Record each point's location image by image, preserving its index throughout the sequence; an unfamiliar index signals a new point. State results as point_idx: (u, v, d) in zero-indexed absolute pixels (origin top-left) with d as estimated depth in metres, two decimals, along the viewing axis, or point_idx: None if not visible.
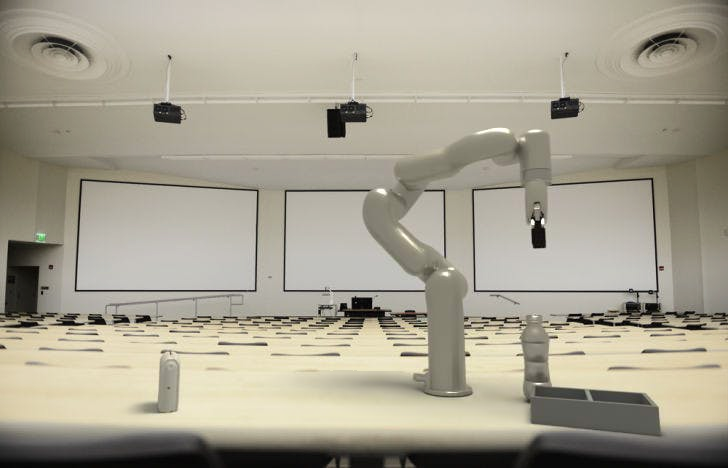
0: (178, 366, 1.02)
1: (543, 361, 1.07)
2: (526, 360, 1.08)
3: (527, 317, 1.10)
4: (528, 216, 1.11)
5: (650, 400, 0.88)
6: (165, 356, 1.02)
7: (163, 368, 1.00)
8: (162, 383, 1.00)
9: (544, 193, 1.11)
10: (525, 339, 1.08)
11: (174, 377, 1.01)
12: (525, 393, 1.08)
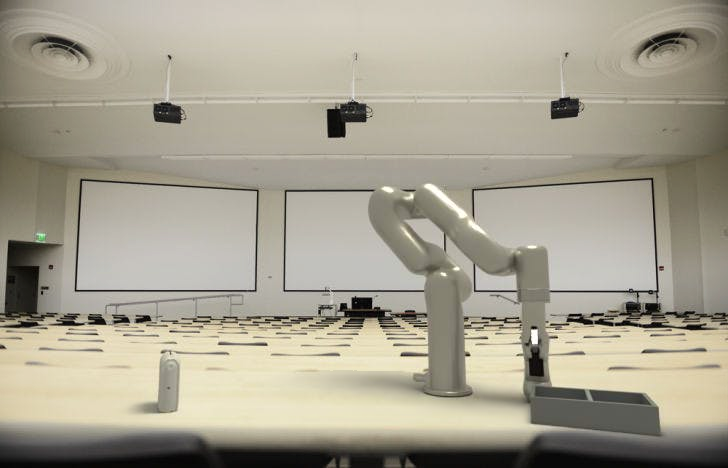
0: (178, 366, 1.02)
1: (543, 361, 1.07)
2: (526, 360, 1.08)
3: None
4: (525, 341, 1.06)
5: (650, 400, 0.88)
6: (165, 356, 1.02)
7: (163, 368, 1.00)
8: (162, 383, 1.00)
9: (542, 317, 1.06)
10: None
11: (174, 377, 1.01)
12: (525, 393, 1.08)
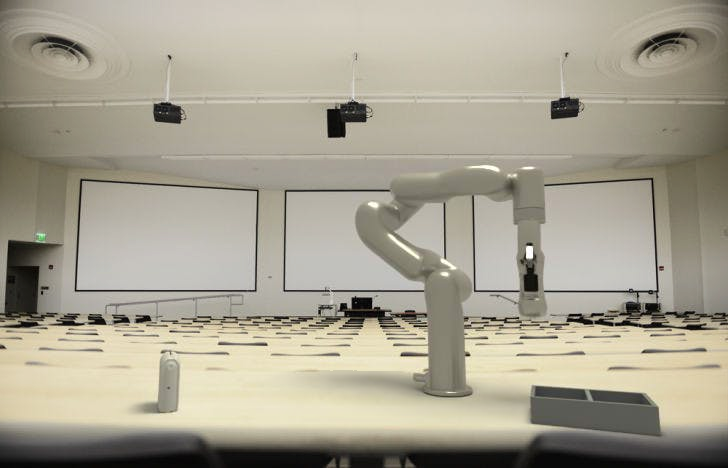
0: (178, 366, 1.02)
1: (538, 278, 1.09)
2: (521, 278, 1.11)
3: None
4: (520, 257, 1.08)
5: (650, 400, 0.88)
6: (165, 356, 1.02)
7: (163, 368, 1.00)
8: (162, 383, 1.00)
9: (537, 234, 1.08)
10: None
11: (174, 377, 1.01)
12: (520, 309, 1.10)
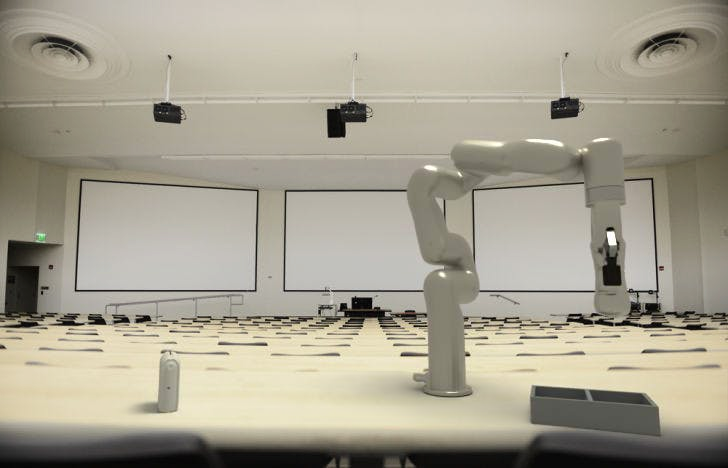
0: (178, 366, 1.02)
1: None
2: (598, 269, 0.93)
3: None
4: (599, 244, 0.91)
5: (650, 400, 0.88)
6: (165, 356, 1.02)
7: (163, 368, 1.00)
8: (162, 383, 1.00)
9: (619, 216, 0.90)
10: None
11: (174, 377, 1.01)
12: (598, 307, 0.92)
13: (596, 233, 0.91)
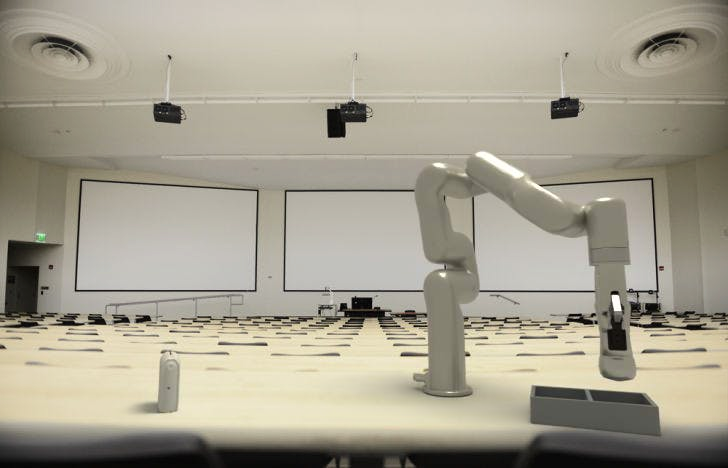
0: (178, 366, 1.02)
1: None
2: (603, 332, 0.92)
3: None
4: (604, 308, 0.89)
5: (650, 400, 0.88)
6: (165, 356, 1.02)
7: (163, 368, 1.00)
8: (162, 383, 1.00)
9: (624, 280, 0.89)
10: None
11: (174, 377, 1.01)
12: (603, 371, 0.91)
13: (600, 296, 0.90)
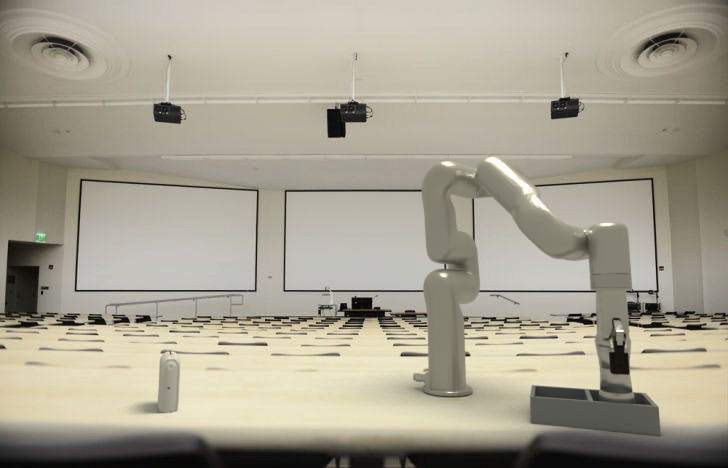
0: (178, 366, 1.02)
1: None
2: (603, 367, 0.92)
3: None
4: (605, 335, 0.89)
5: (650, 400, 0.88)
6: (165, 356, 1.02)
7: (163, 368, 1.00)
8: (162, 383, 1.00)
9: (625, 307, 0.88)
10: (602, 343, 0.92)
11: (174, 377, 1.01)
12: None
13: (602, 323, 0.89)
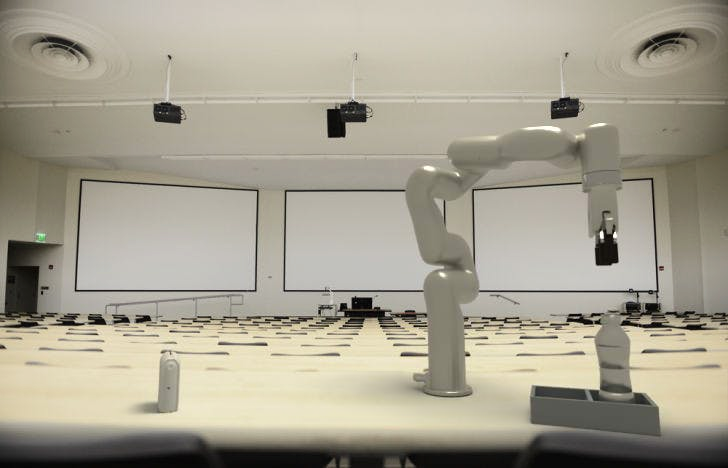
0: (178, 366, 1.02)
1: (624, 368, 0.91)
2: (603, 367, 0.93)
3: (603, 317, 0.94)
4: (595, 228, 0.92)
5: (650, 400, 0.88)
6: (165, 356, 1.02)
7: (163, 368, 1.00)
8: (162, 383, 1.00)
9: (615, 200, 0.91)
10: (601, 343, 0.93)
11: (174, 377, 1.01)
12: None
13: (592, 217, 0.92)
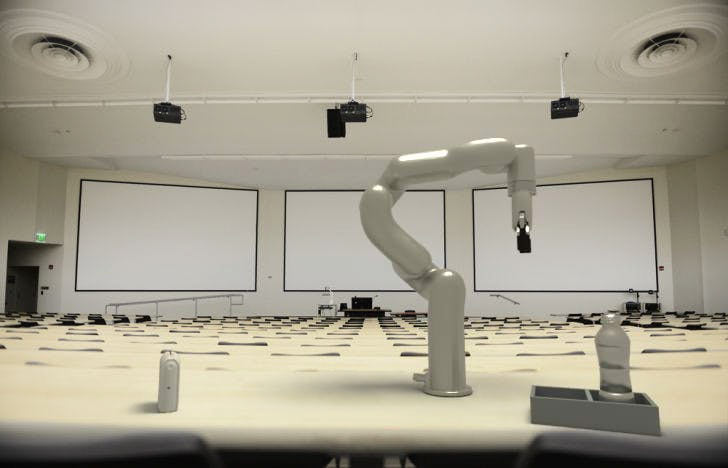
0: (178, 366, 1.02)
1: (624, 368, 0.91)
2: (603, 367, 0.93)
3: (603, 317, 0.94)
4: (514, 224, 1.22)
5: (650, 400, 0.88)
6: (165, 356, 1.02)
7: (163, 368, 1.00)
8: (162, 383, 1.00)
9: (529, 203, 1.22)
10: (601, 343, 0.93)
11: (174, 377, 1.01)
12: None
13: (512, 215, 1.23)
